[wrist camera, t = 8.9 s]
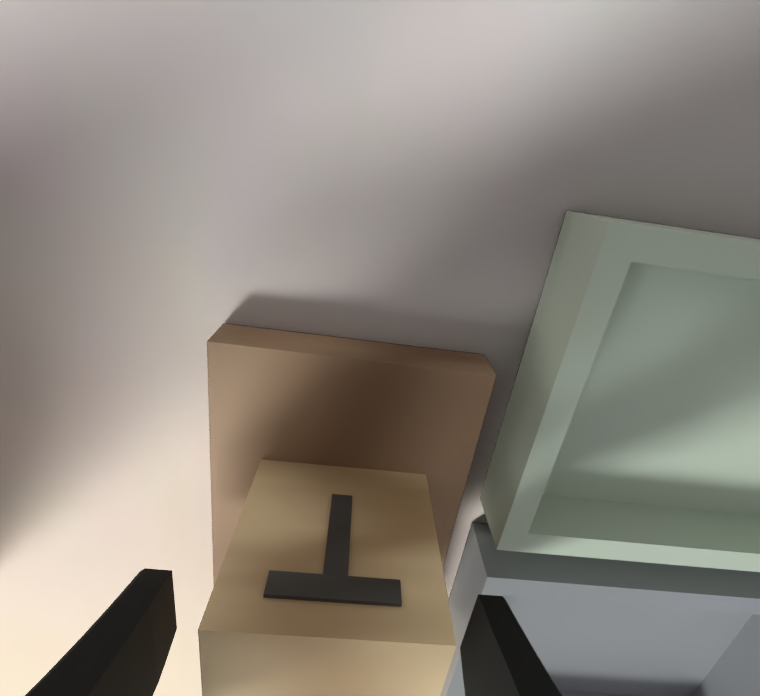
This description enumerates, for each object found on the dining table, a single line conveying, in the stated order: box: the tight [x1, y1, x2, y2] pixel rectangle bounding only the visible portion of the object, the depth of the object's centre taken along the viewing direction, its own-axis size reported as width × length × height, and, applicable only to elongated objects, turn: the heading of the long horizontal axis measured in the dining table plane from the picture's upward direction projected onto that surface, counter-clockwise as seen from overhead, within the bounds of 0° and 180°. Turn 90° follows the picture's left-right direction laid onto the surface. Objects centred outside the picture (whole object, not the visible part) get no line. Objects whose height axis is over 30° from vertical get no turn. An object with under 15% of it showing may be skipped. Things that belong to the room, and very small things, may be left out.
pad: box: [207, 324, 496, 585], centre depth 13 cm, size 7×11×1 cm, turn 172°
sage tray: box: [480, 211, 760, 572], centre depth 11 cm, size 12×9×2 cm
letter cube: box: [198, 459, 456, 696], centre depth 10 cm, size 4×5×4 cm
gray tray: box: [440, 523, 760, 696], centre depth 15 cm, size 12×9×2 cm
